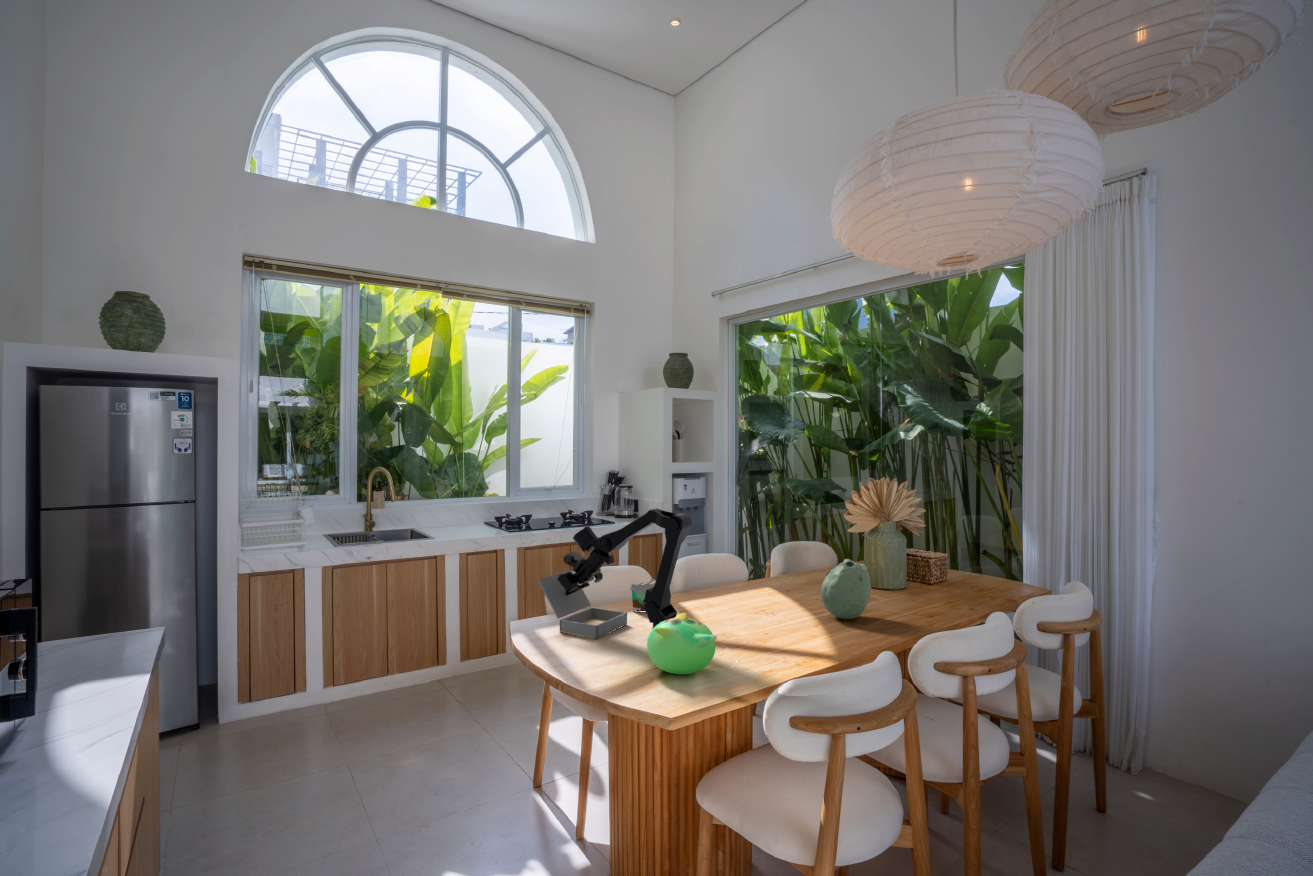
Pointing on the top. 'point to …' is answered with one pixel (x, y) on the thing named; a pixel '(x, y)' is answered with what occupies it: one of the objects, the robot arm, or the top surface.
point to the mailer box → (593, 622)
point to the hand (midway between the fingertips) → (566, 594)
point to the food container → (640, 594)
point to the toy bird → (681, 645)
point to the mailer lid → (562, 596)
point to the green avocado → (846, 589)
